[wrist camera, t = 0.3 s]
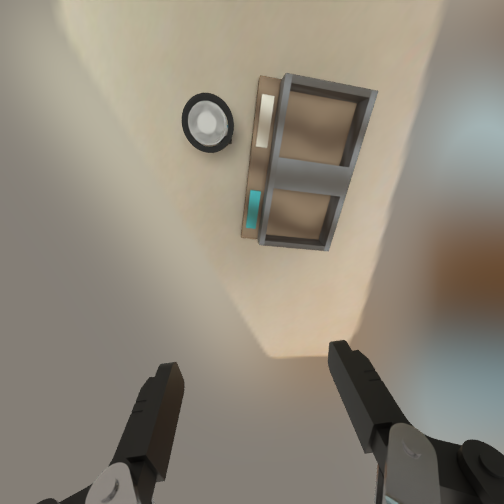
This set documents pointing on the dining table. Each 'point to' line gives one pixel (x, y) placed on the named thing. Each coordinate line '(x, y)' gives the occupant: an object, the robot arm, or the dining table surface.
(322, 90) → the dock
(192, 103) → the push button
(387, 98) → the dining table surface
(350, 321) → the dining table surface
